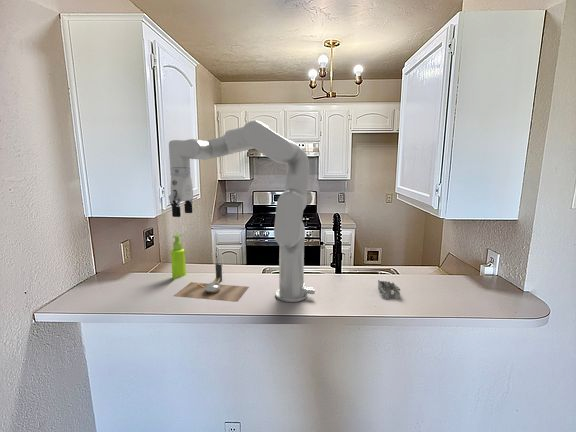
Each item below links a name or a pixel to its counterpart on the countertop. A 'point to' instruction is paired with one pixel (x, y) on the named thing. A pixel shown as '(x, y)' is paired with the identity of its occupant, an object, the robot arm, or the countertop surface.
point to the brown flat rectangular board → (224, 294)
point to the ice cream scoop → (215, 281)
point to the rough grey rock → (388, 289)
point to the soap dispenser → (178, 259)
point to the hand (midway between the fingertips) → (182, 214)
